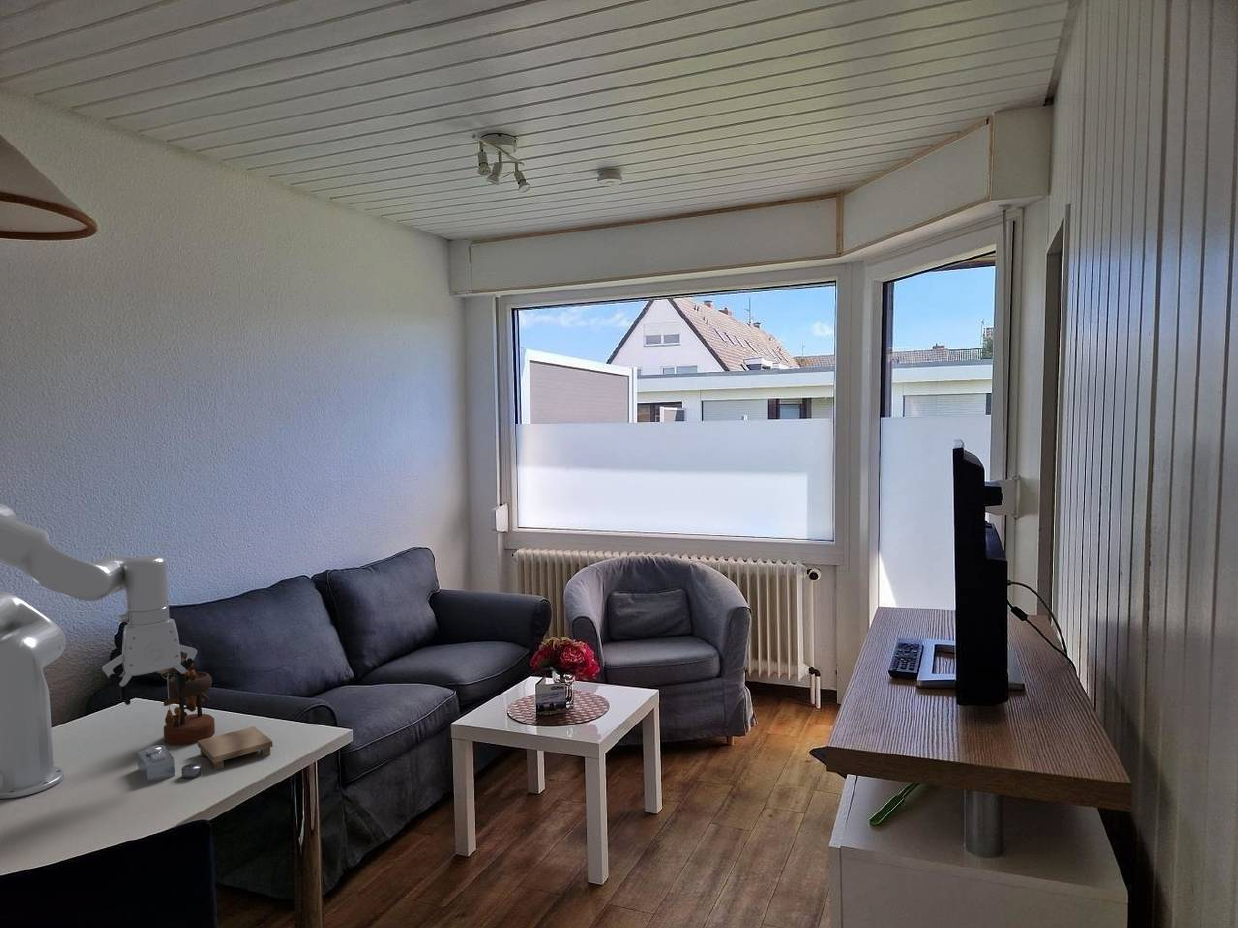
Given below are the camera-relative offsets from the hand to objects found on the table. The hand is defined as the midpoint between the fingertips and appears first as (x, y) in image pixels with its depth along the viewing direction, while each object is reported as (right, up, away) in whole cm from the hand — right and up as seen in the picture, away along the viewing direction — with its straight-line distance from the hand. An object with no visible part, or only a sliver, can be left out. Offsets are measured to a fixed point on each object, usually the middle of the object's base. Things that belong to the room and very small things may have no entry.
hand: (153, 697), depth 168 cm
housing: (0, -16, +1) cm, 16 cm away
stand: (+13, -15, +9) cm, 22 cm away
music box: (-3, -15, +21) cm, 26 cm away
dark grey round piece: (+9, -16, -1) cm, 18 cm away
